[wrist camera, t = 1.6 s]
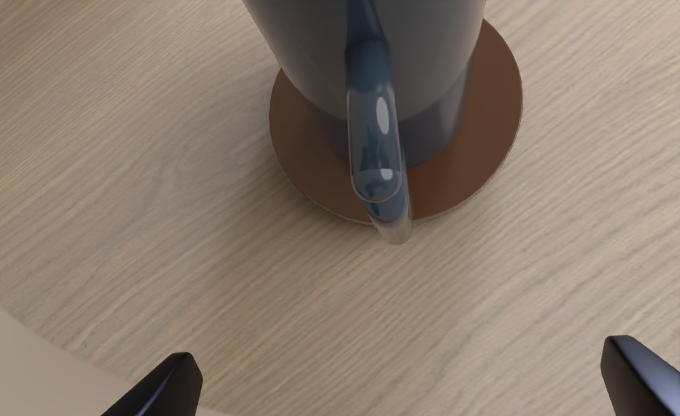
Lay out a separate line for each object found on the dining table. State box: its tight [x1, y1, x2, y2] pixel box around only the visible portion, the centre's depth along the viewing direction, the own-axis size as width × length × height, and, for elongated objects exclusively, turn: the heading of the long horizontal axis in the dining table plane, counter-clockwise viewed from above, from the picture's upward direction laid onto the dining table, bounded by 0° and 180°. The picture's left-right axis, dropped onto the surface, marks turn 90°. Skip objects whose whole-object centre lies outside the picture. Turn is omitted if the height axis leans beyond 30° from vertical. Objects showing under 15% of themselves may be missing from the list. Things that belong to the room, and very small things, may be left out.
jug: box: [242, 0, 523, 245], centre depth 17 cm, size 16×14×14 cm
